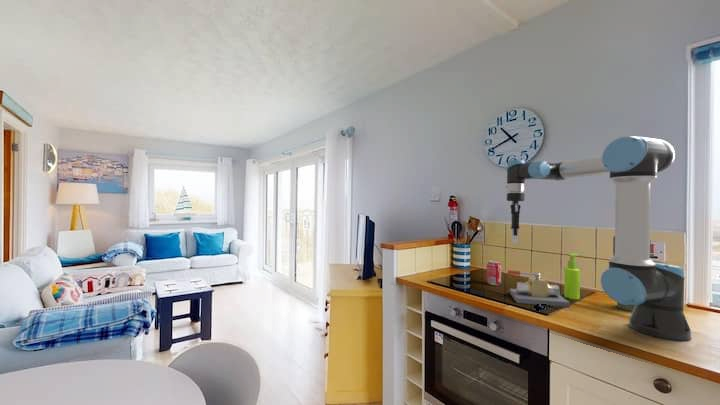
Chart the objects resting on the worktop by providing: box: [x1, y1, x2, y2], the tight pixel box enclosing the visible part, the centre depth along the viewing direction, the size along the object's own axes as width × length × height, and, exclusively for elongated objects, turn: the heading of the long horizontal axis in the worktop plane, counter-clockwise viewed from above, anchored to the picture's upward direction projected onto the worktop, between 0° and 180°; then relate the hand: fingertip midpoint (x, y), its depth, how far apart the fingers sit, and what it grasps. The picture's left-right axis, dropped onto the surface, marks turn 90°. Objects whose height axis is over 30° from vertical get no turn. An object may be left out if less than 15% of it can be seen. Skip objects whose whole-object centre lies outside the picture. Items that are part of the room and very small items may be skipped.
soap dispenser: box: [563, 253, 583, 300], centre depth 144 cm, size 6×7×20 cm
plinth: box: [509, 288, 571, 308], centre depth 140 cm, size 16×20×2 cm
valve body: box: [516, 277, 561, 298], centre depth 140 cm, size 6×16×8 cm, turn 75°
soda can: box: [486, 260, 502, 286], centre depth 166 cm, size 7×7×12 cm
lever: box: [507, 269, 542, 278], centre depth 143 cm, size 13×3×2 cm, turn 61°
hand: (514, 242), depth 149 cm, fingers closed
